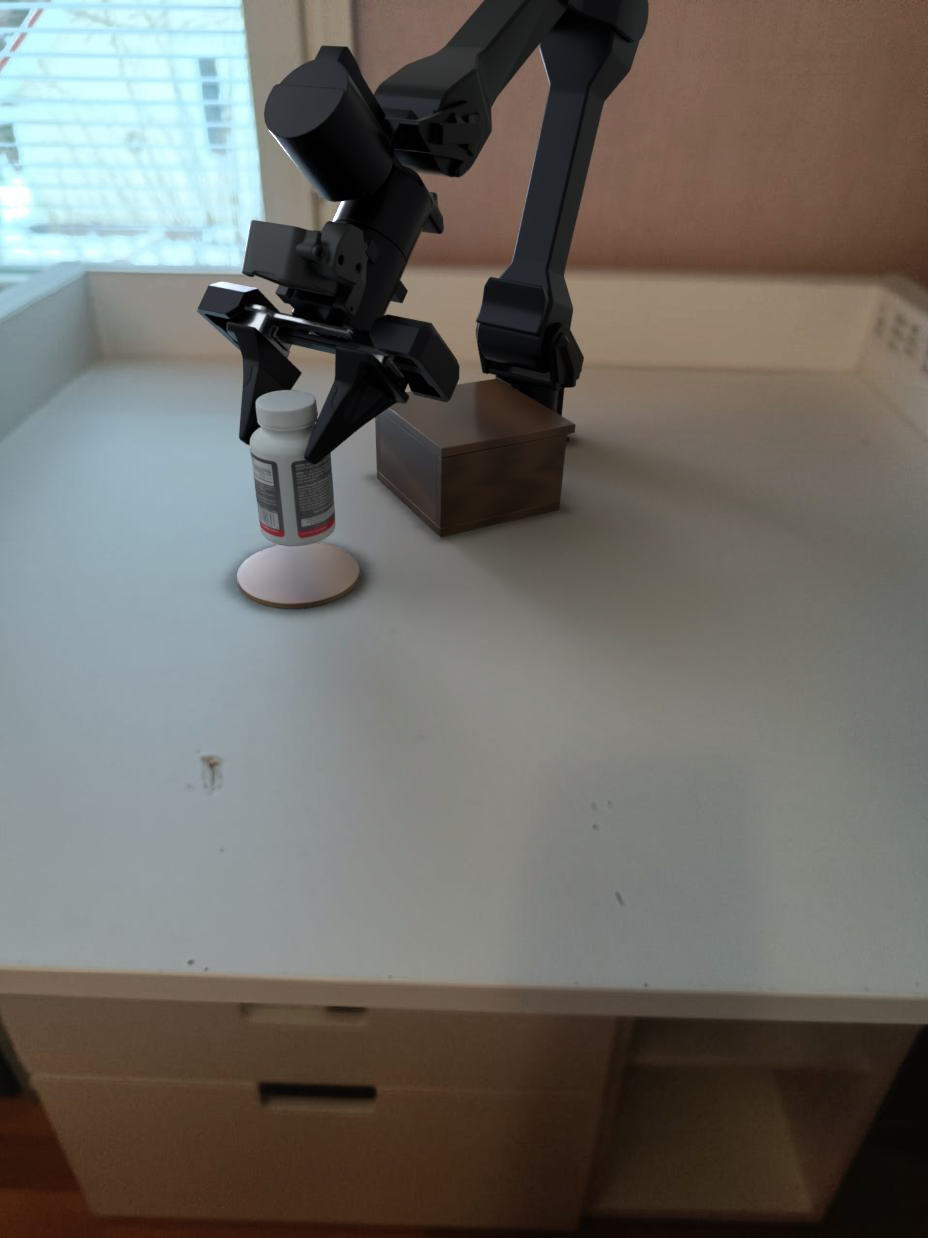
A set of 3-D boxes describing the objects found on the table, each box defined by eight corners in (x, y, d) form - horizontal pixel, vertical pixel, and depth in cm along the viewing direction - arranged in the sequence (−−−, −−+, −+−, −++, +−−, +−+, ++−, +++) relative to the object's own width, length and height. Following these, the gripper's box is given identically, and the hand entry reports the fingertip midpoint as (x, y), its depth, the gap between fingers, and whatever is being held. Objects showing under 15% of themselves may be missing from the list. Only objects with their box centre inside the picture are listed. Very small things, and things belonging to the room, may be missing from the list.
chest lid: (497, 386, 81) (497, 377, 81) (575, 433, 72) (576, 423, 72) (374, 405, 76) (374, 396, 76) (441, 458, 67) (441, 448, 67)
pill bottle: (336, 512, 66) (328, 385, 60) (335, 547, 61) (326, 413, 56) (263, 514, 65) (248, 386, 60) (257, 550, 61) (239, 415, 55)
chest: (486, 456, 85) (489, 387, 81) (559, 509, 76) (567, 434, 72) (376, 477, 80) (374, 405, 76) (440, 537, 71) (441, 458, 67)
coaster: (333, 537, 70) (333, 532, 70) (379, 590, 64) (379, 585, 64) (222, 561, 67) (221, 557, 66) (259, 620, 60) (258, 615, 60)
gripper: (196, 151, 57) (93, 364, 55) (437, 179, 49) (326, 428, 48) (287, 257, 67) (203, 440, 65) (500, 295, 59) (410, 504, 58)
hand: (276, 451), depth 59 cm, fingers closed on pill bottle, 5 cm apart
